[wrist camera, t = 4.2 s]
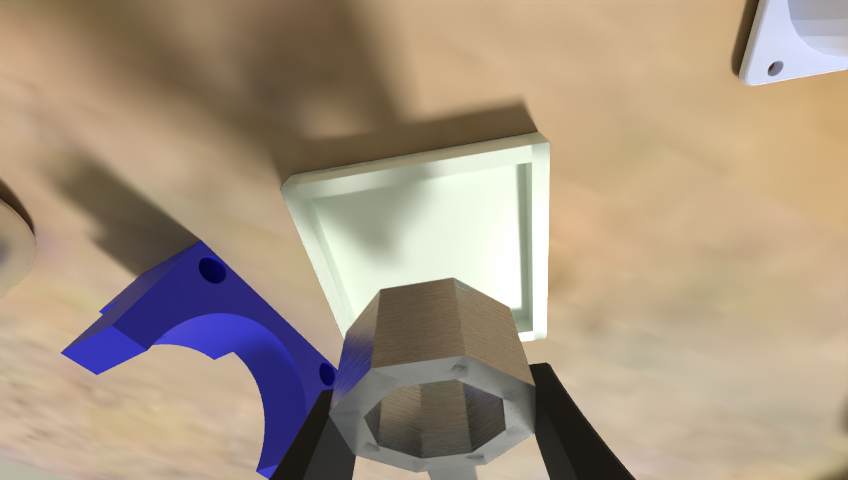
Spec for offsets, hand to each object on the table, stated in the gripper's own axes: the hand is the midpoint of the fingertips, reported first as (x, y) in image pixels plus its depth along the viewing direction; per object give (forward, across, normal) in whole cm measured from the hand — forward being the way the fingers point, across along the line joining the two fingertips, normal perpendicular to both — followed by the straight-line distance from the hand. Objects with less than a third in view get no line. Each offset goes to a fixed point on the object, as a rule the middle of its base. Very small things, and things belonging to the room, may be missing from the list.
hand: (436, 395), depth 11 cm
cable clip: (+8, +12, +3) cm, 15 cm away
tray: (+8, 0, 0) cm, 8 cm away
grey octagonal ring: (+2, 0, 0) cm, 2 cm away
